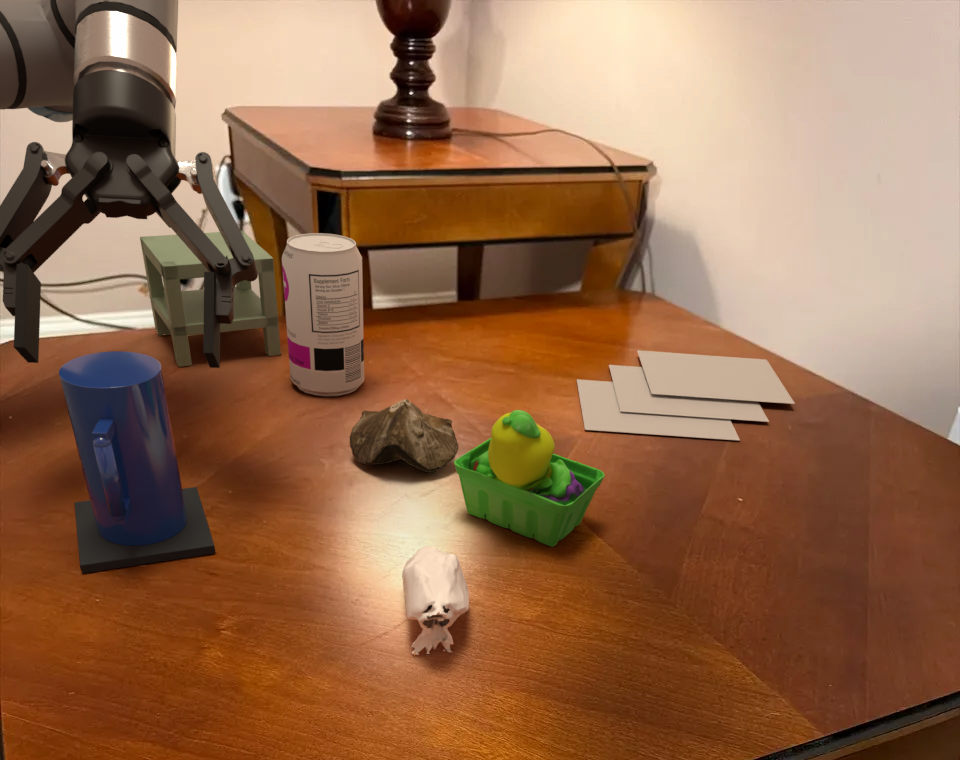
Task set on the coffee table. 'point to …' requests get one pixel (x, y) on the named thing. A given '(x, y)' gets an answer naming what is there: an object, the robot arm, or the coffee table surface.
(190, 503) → the mat
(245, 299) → the side table
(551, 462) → the fruit basket
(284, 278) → the supplement can
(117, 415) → the jug
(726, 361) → the paper stack
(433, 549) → the white crumpled pouch
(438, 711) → the coffee table surface
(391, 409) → the fossilized seashell
